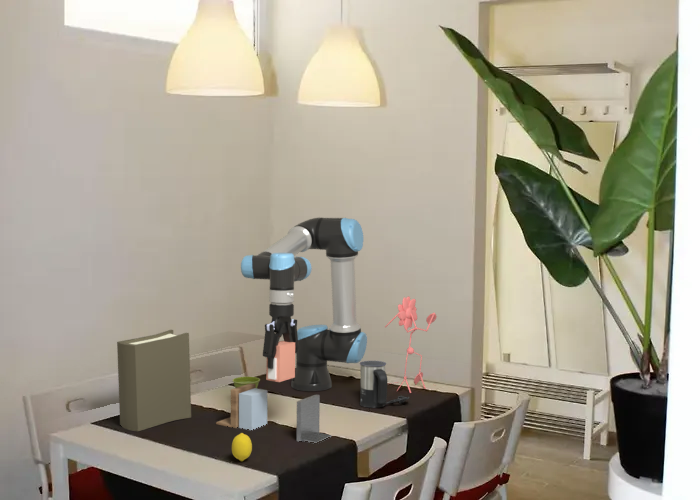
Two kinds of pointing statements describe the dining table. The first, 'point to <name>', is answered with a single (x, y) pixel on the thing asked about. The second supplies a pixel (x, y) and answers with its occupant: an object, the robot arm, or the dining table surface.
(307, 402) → the bookend
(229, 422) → the shelf end
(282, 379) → the red block
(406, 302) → the pink daisy dancer statuette
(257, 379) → the plant pot
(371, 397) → the milk frother
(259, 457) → the dining table surface
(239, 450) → the lemon
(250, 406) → the blue block
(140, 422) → the book
